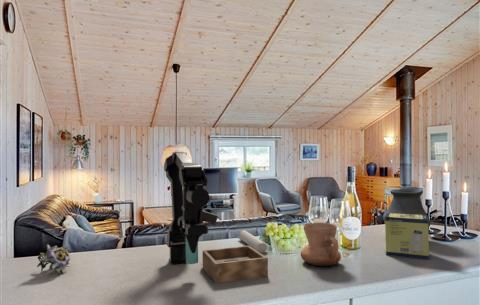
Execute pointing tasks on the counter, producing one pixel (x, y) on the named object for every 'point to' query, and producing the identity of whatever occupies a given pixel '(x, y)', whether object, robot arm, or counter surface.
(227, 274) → the box
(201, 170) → the robot arm
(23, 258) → the counter surface
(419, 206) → the dark grey flared piece
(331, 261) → the ceramic jug
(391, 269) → the counter surface
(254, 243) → the tube
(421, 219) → the protein box
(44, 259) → the passion flower
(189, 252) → the peg
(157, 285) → the counter surface
